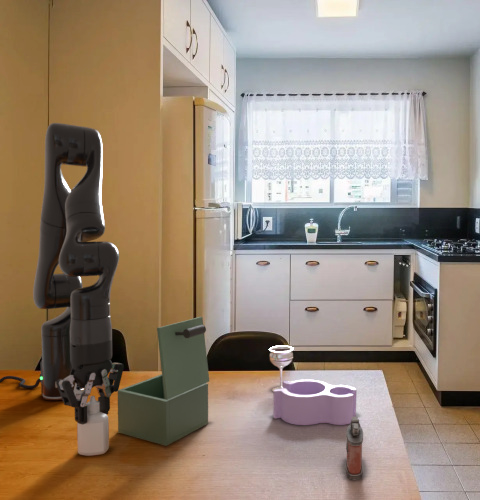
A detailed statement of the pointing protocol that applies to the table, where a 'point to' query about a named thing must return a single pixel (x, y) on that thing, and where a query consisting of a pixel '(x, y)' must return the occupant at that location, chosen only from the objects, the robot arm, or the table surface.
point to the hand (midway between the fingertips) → (92, 418)
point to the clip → (314, 402)
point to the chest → (161, 411)
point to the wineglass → (280, 358)
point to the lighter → (354, 449)
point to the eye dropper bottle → (93, 431)
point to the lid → (183, 356)
